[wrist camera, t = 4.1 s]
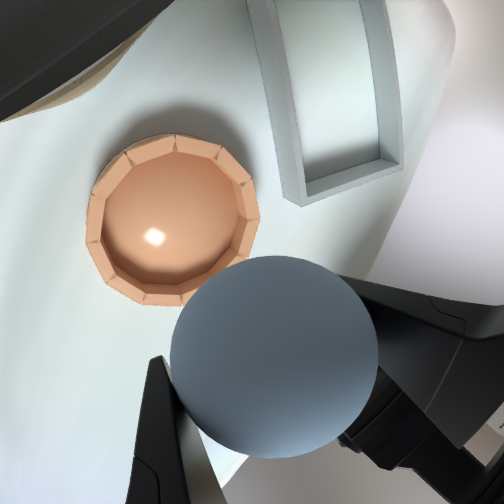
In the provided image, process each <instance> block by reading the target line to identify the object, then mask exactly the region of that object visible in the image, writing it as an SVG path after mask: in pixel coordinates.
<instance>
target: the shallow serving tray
mask: <svg viewBox="0 0 504 504" xmlns="http://www.w3.org/2000/svg"><path fill="white" fill-rule="evenodd" d="M359 1H360V5H361V10H362V14H363V19H364V24H365V29H366V35H367V40H368V46H369V52H370V58H371V65H372V72H373V80H374V88H375V97H376V107H377V119H378V132H379V149H380V159H377V160H374V161H371V162H367V163H364V164H361V165H358V166H355V167H352V168H349V169H346V170H343V171H340V172H337V173H334V174H331V175H328V176H325V177H322V178H319V179H316V180H313V181H310V182H307V183H305V175H304V168H303V160H302V153H301V146H300V139H299V132H298V125H297V119H296V113H295V106H294V100H293V94H292V89H291V83H290V77H289V72H288V67H287V61H286V56H285V51H284V46H283V41H282V36H281V31H280V27H279V22H278V17H277V13H276V8H275V4H274V0H246V2H247V7H248V11H249V15H250V20H251V24H252V29H253V34H254V38H255V43H256V48H257V53H258V57H259V62H260V67H261V72H262V77H263V83H264V88H265V93H266V98H267V104H268V109H269V114H270V120H271V126H272V131H273V137H274V143H275V149H276V154H277V160H278V166H279V173H280V179H281V185H282V191H283V198H285V199H287V200H289V201H291V202H293V203H295V204H297V205H298V206H300V207H304V206H306V205H309V204H311V203H314V202H316V201H319V200H322V199H324V198H327V197H329V196H332V195H335V194H337V193H340V192H342V191H345V190H348V189H350V188H353V187H356V186H358V185H361V184H364V183H366V182H369V181H372V180H374V179H377V178H380V177H382V176H385V175H388V174H391V173H393V172H396V171H399V170H401V169H403V137H402V117H401V103H400V92H399V82H398V73H397V65H396V58H395V51H394V45H393V39H392V33H391V28H390V22H389V17H388V13H387V8H386V4H385V0H359Z"/></svg>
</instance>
